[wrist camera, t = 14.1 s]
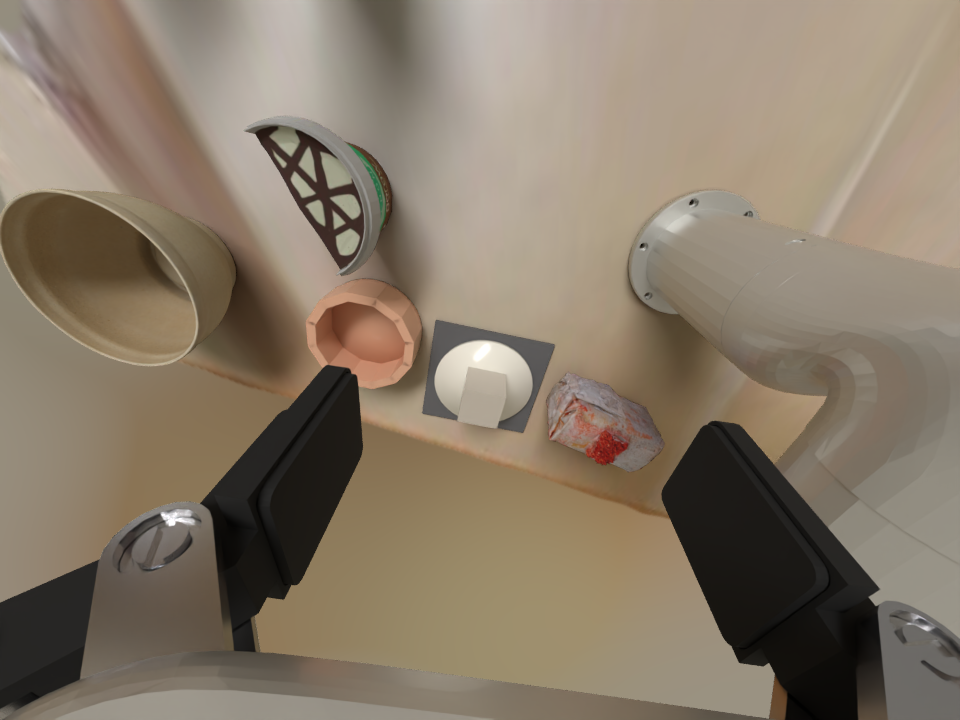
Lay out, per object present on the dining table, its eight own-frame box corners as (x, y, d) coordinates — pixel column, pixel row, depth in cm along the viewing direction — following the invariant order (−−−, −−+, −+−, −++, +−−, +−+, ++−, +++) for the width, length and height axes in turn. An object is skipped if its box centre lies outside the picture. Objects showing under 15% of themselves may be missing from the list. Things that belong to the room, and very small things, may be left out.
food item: (534, 402, 48) (541, 456, 39) (564, 359, 44) (579, 408, 35) (616, 435, 50) (639, 493, 42) (652, 397, 46) (685, 451, 38)
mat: (554, 344, 43) (554, 345, 42) (522, 430, 50) (522, 432, 50) (436, 319, 42) (435, 321, 41) (422, 411, 50) (422, 413, 49)
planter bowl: (292, 305, 42) (232, 349, 33) (187, 332, 45) (105, 379, 36) (208, 159, 34) (97, 162, 25) (87, 203, 37) (-52, 221, 28)
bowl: (427, 290, 40) (418, 307, 36) (417, 373, 46) (408, 395, 42) (324, 268, 39) (302, 283, 35) (328, 355, 45) (310, 376, 41)
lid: (544, 351, 43) (549, 377, 38) (517, 426, 49) (519, 457, 45) (442, 329, 42) (434, 353, 37) (429, 409, 49) (421, 438, 44)
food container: (425, 230, 36) (401, 254, 28) (376, 252, 38) (340, 281, 29) (362, 97, 31) (307, 76, 22) (308, 129, 32) (238, 121, 24)
